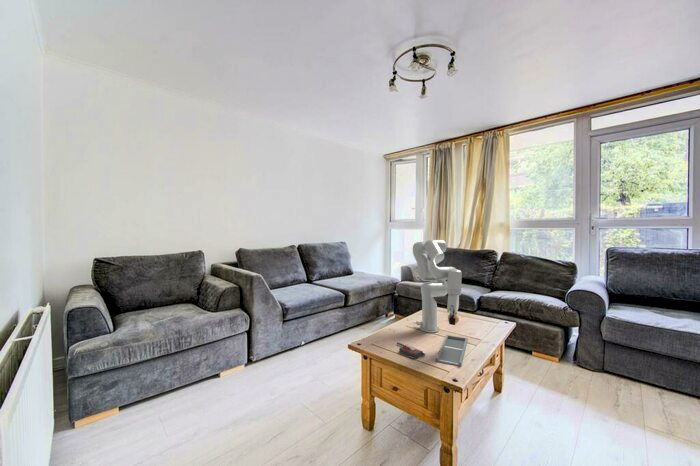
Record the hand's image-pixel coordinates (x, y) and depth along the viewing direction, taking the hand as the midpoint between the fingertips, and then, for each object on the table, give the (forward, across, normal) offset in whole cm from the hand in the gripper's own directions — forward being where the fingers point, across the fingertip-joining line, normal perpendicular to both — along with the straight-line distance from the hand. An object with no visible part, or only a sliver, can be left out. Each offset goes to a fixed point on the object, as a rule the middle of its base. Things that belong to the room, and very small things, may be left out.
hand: (453, 322), depth 163 cm
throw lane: (+14, +4, +1) cm, 15 cm away
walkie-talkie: (+15, +18, -21) cm, 31 cm away
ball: (-2, 0, 0) cm, 2 cm away
